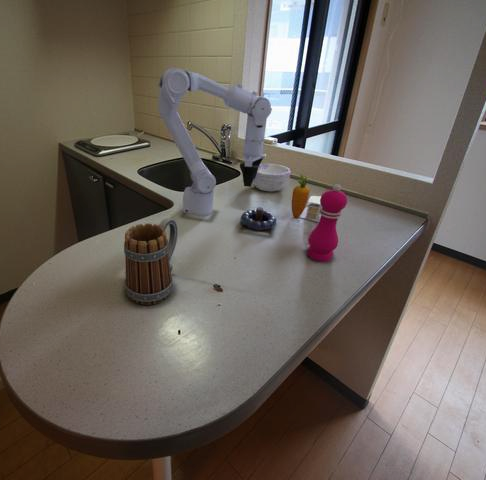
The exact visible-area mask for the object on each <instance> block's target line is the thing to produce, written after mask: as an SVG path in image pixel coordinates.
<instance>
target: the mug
mask: <svg viewBox="0 0 486 480" xmlns="http://www.w3.org/2000/svg"><path fill="white" fill-rule="evenodd" d="M167 228H169V238H168V237H167V232H166V230H167ZM178 230H179V229H178V224H177V222H176V220H175V219H172V218H169V217H165V218H163V219H161V221H160V222H159V223H158V224H156V223H154V224H152V223H149V222H148V223H147V222H146V223H144V224H143V223H138V224H136V225H135V226H133V225H132V226H131V227H129V228H128V230H126V231H125V233H124V243H123V253H124V258H125V261H124V262H125V263H124V264H125V265H124V267H125V280H124V290H125V293H126V294H125V295H126V296H127V298H128V299H130V301H132V302H134V303H136V304H140V305H145V306H148V305H151V306H152V305H156V304H159V303H161V302H163V301H165V300H166V299H168V298H169V297H170V296H171V294H172V292H173V287H174V283H173V276H172V273H171V272H172V270H173V266H174V265H173V264H171V263H170V262H171V261H170V260H171V259H172V257H173V254H174V252H175V250H176V245H177V241H178V233H179V232H178Z"/></svg>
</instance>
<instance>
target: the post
mask: <svg viewBox="0 0 486 480" xmlns="http://www.w3.org/2000/svg"><path fill="white" fill-rule="evenodd" d="M255 210H256V217H255V218H250V219H251V220H253V221H258V222H264V221H267V220H265V219H262V215H263V211H264V208H263V207H262V206H261V207H260V206H258V207H256V208H255ZM240 229H241V230H246V231H253V232H259V233H264V234H272V231H273V228H270V229H268V230H255V229H250V228H248V227H246V226H244V225H243V223H241V226H240Z"/></svg>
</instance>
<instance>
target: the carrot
mask: <svg viewBox="0 0 486 480" xmlns="http://www.w3.org/2000/svg"><path fill="white" fill-rule="evenodd" d="M309 181H310V179H309V177H308V176H305V178H304V173H300V179H297V182H298V183H299V185H295V187H293V191H292V194H291V195H292V196H291V213H292V216H293V219H295V220H298V219H299V218H301V217H300V215H301V214H302V213H303V211H304V209H305V208H306V207H307V204H308V202H309V201H308V200H309V198H310V192H311V189H310V187H308V186H307V184H308V183H309Z"/></svg>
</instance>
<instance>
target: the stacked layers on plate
mask: <svg viewBox="0 0 486 480" xmlns="http://www.w3.org/2000/svg"><path fill="white" fill-rule="evenodd" d="M320 199H321V195H320V196H319V195H311V196H309V198H308V201H307V204H306V206H305V209H304V211H303V213H302V214H301V215H300V217H299V218H302V219H305V220H308V221H312V222H316V223H319V221H320V218H321V214H320V213H319V212H320V208H321V207H322V205H321V203H320Z"/></svg>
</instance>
